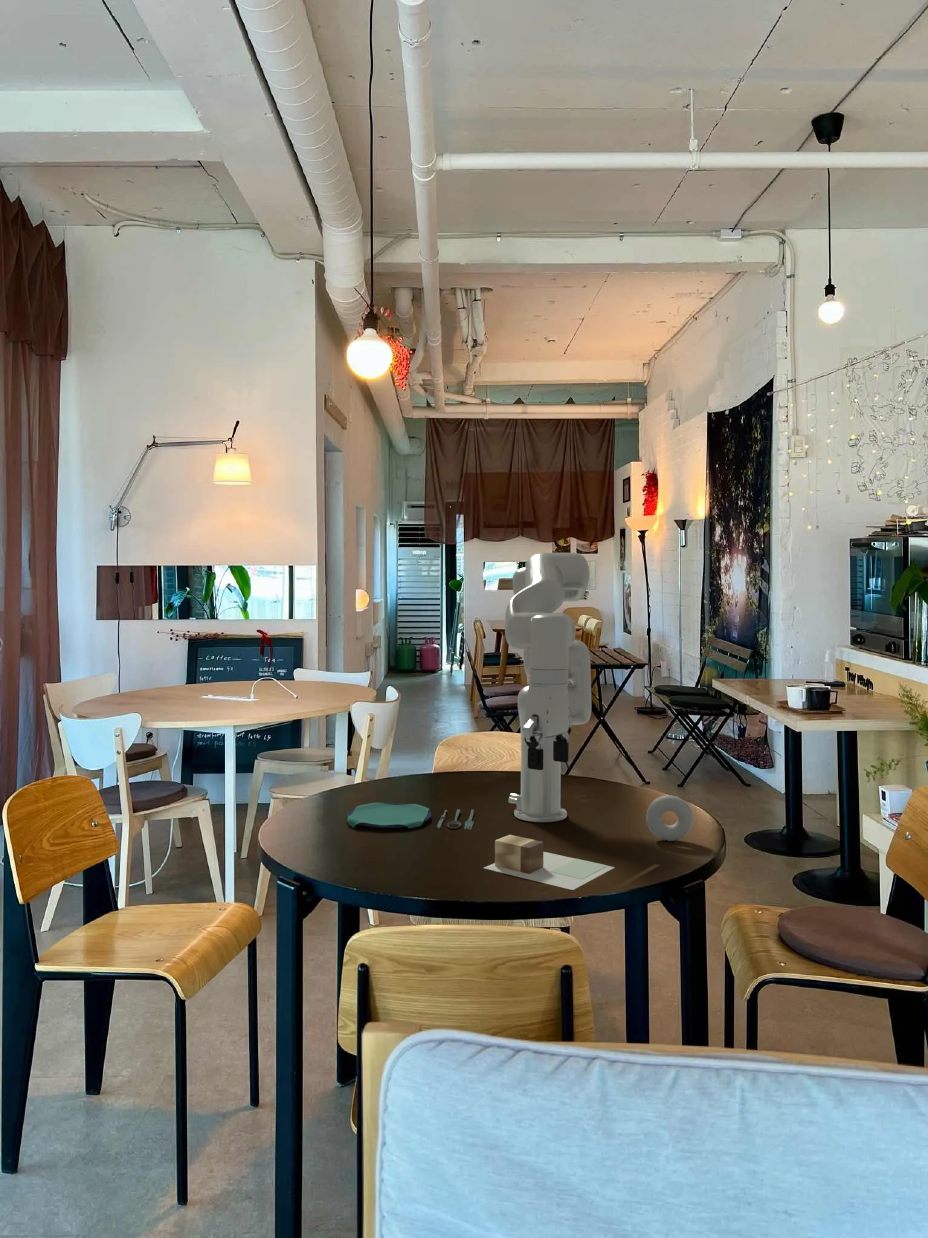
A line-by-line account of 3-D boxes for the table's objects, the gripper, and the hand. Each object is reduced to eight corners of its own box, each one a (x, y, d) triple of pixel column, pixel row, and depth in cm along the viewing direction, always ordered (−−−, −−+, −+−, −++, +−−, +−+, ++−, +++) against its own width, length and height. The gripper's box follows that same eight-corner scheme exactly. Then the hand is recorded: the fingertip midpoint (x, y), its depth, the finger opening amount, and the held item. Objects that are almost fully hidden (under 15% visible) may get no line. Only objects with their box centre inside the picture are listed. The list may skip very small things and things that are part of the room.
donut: (645, 842, 191) (646, 796, 190) (645, 837, 194) (645, 792, 194) (693, 844, 189) (694, 798, 188) (692, 840, 192) (692, 794, 192)
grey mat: (483, 871, 171) (483, 867, 171) (528, 851, 184) (528, 848, 184) (572, 893, 159) (572, 889, 159) (614, 870, 172) (614, 867, 172)
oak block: (494, 865, 172) (495, 840, 172) (509, 859, 176) (509, 834, 176) (529, 874, 168) (529, 848, 167) (543, 867, 171) (543, 842, 171)
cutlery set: (356, 809, 218) (356, 799, 218) (477, 814, 216) (477, 804, 216) (337, 832, 199) (337, 822, 199) (470, 838, 196) (470, 828, 196)
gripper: (554, 673, 181) (553, 756, 182) (508, 680, 167) (508, 770, 168) (586, 675, 177) (586, 761, 177) (542, 682, 163) (542, 775, 163)
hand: (548, 765), depth 172 cm, fingers open, 9 cm apart
